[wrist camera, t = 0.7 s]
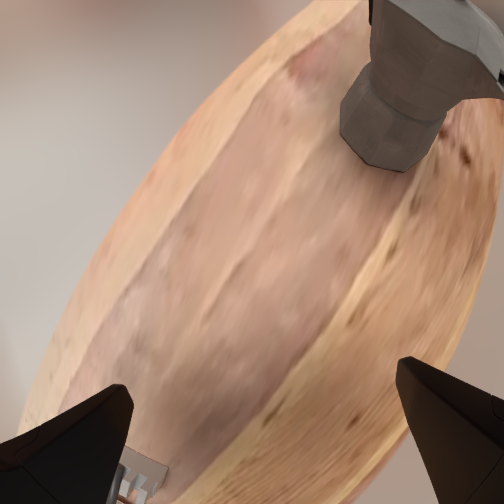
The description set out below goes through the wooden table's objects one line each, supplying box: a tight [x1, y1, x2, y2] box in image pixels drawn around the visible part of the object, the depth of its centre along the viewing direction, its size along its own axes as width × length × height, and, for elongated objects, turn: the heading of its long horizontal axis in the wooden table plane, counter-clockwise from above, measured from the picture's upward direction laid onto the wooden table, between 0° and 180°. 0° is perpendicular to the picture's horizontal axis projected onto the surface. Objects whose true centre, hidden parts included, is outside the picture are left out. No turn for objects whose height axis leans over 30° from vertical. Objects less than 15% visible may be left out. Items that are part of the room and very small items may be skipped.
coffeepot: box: [340, 0, 504, 172], centre depth 14 cm, size 15×9×18 cm, turn 13°
